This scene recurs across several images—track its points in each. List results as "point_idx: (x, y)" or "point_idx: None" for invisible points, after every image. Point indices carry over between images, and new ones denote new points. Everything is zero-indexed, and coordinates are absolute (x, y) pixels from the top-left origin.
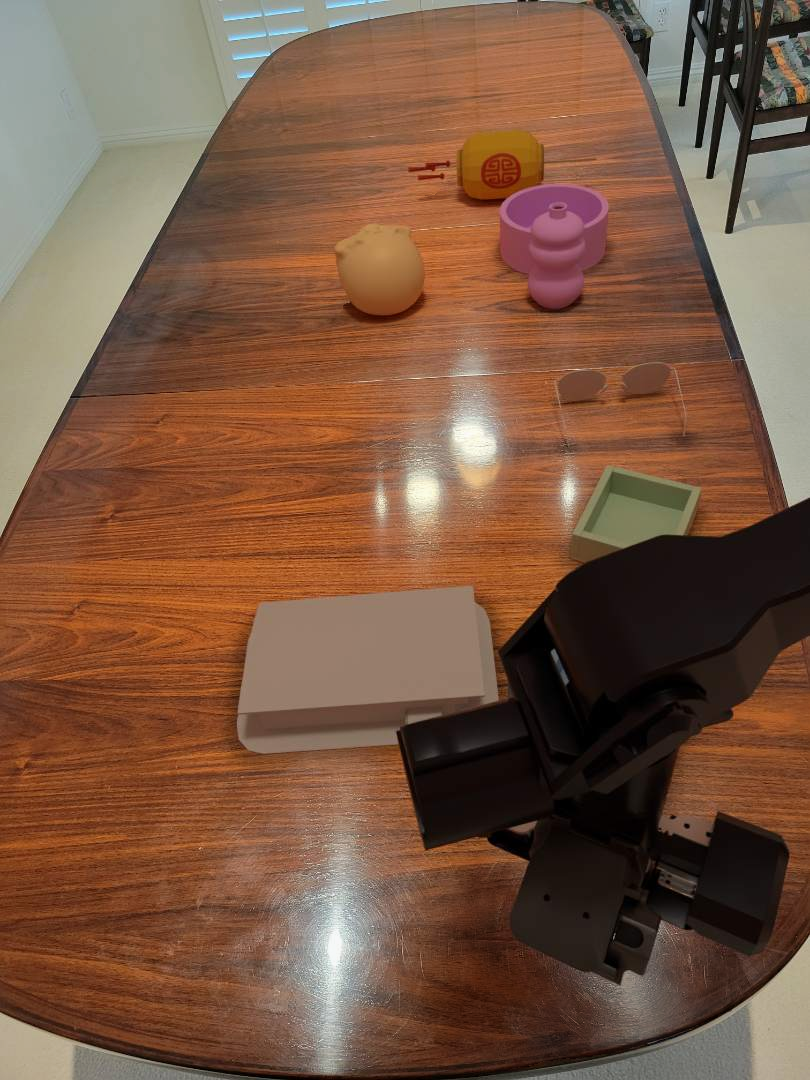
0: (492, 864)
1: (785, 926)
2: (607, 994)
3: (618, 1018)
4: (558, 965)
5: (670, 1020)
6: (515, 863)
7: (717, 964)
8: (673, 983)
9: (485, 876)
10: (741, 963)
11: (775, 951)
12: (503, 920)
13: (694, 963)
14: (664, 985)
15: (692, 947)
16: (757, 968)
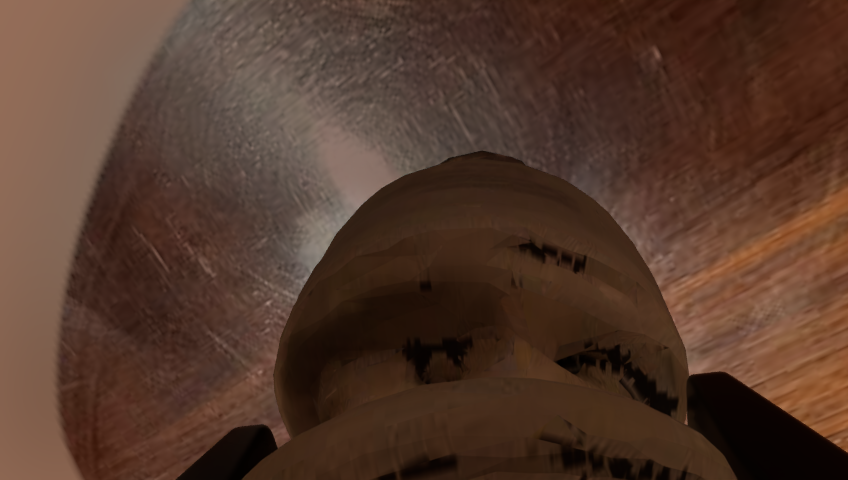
0: (836, 187)
1: (84, 440)
2: (327, 51)
3: (264, 9)
4: (497, 36)
5: (150, 97)
6: (763, 229)
7: (145, 290)
8: (201, 188)
9: (844, 141)
10: (105, 322)
11: (66, 384)
12: (726, 52)
13: (189, 262)
14: (216, 170)
15: (215, 294)
16: (71, 331)
